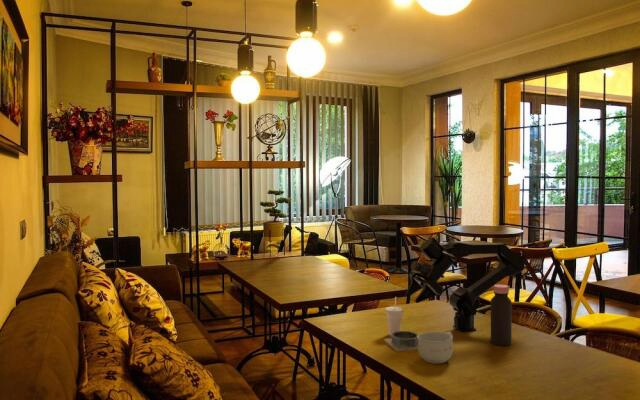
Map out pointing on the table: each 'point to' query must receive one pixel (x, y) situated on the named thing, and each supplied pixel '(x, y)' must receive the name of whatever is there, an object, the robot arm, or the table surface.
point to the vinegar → (501, 316)
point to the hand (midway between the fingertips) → (410, 299)
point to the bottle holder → (403, 340)
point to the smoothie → (394, 318)
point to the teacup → (435, 346)
